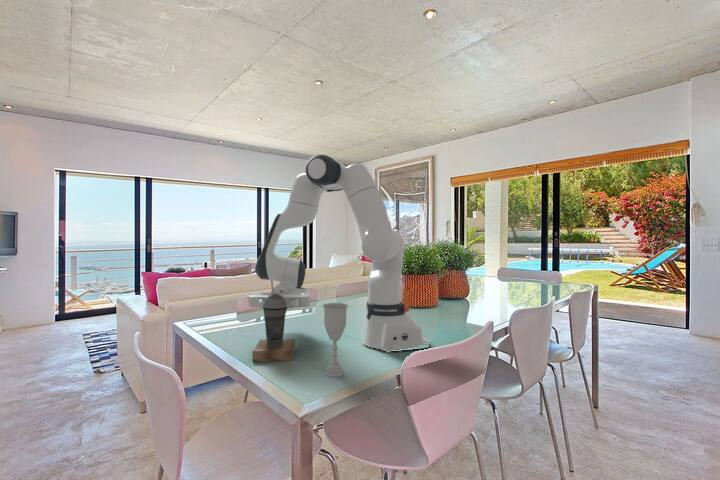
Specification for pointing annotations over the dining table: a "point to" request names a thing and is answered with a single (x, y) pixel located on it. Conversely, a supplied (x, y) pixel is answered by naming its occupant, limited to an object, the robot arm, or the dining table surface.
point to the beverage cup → (274, 318)
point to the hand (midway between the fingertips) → (277, 304)
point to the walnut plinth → (274, 351)
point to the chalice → (335, 332)
